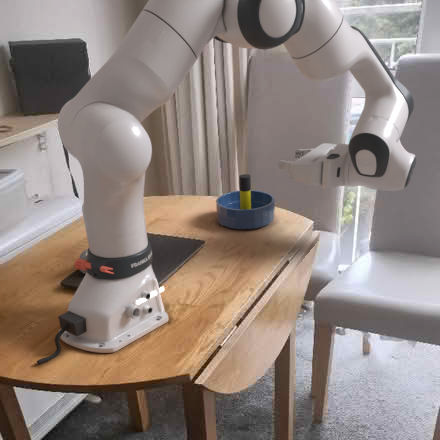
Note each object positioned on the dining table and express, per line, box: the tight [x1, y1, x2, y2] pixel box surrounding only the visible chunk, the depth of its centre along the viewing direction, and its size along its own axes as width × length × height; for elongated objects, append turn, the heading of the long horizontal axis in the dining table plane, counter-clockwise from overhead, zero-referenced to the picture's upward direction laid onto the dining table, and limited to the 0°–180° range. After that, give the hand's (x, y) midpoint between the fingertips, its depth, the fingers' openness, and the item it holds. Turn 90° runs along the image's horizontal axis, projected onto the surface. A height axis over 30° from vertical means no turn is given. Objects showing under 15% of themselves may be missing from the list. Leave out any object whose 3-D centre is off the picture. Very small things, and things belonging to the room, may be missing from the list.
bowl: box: [215, 189, 276, 231], centre depth 155 cm, size 15×15×6 cm
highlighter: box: [238, 173, 252, 209], centre depth 153 cm, size 3×3×11 cm
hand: (288, 158), depth 141 cm, fingers open, 8 cm apart
